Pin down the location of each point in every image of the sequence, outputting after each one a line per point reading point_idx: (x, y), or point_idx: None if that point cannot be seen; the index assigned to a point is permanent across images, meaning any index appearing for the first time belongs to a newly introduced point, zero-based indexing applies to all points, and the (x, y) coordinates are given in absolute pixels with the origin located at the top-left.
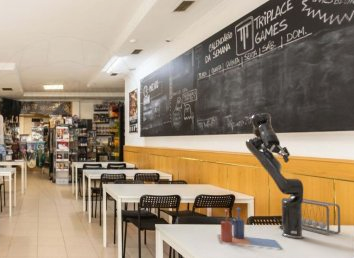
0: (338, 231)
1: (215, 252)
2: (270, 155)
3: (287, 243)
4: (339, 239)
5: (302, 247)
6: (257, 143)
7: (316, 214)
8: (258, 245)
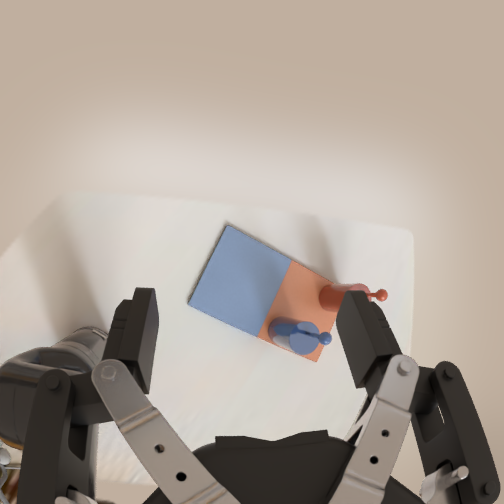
0: None
1: (382, 225)
2: (385, 318)
3: (164, 281)
4: None
5: (150, 240)
6: None
7: None
8: (275, 252)
